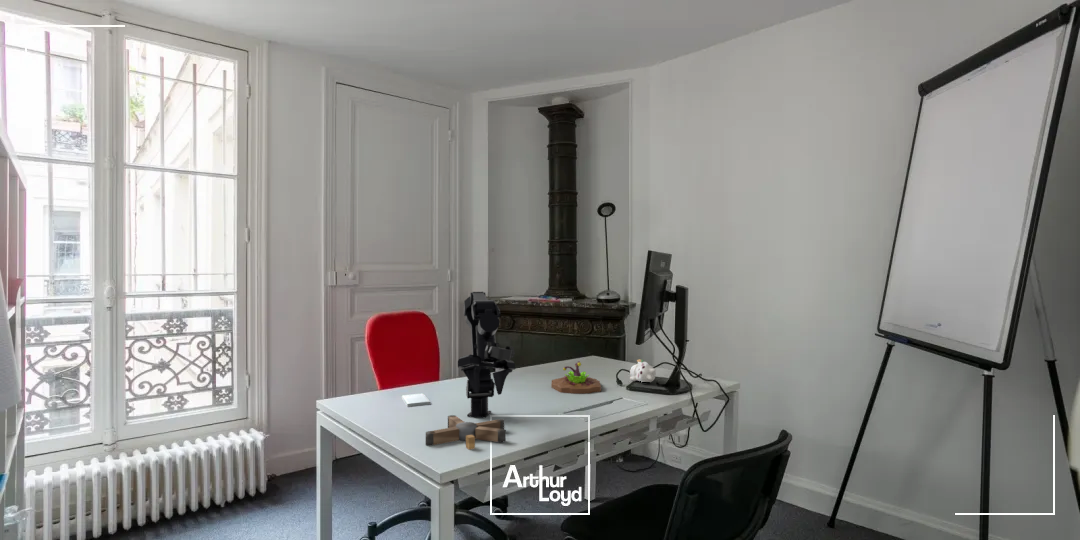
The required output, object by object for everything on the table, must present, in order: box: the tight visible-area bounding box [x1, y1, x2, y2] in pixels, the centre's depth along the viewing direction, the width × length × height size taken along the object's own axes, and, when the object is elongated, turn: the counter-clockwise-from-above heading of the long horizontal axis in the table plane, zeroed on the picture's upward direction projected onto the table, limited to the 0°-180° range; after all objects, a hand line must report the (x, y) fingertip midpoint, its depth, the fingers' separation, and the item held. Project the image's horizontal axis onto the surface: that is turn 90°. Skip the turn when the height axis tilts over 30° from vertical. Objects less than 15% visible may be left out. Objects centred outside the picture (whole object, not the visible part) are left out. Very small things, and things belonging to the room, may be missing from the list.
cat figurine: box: [629, 358, 657, 383], centre depth 231 cm, size 10×8×15 cm
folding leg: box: [475, 426, 507, 443], centre depth 160 cm, size 9×3×3 cm, turn 71°
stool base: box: [425, 414, 505, 451], centre depth 163 cm, size 22×25×4 cm
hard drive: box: [401, 393, 432, 408], centre depth 201 cm, size 2×8×12 cm
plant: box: [550, 361, 602, 395], centre depth 221 cm, size 20×20×11 cm
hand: (488, 393), depth 161 cm, fingers open, 9 cm apart
